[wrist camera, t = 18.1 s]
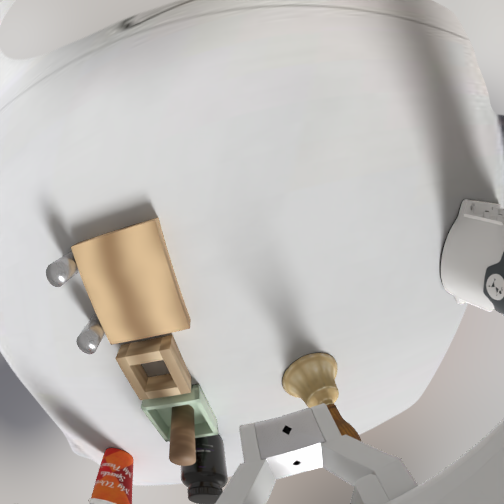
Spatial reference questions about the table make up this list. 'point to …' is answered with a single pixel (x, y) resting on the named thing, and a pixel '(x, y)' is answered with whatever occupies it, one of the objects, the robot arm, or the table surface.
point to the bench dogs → (57, 277)
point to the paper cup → (114, 479)
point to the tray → (162, 407)
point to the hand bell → (317, 386)
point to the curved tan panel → (132, 282)
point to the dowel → (182, 436)
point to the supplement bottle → (206, 471)
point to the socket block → (154, 351)
